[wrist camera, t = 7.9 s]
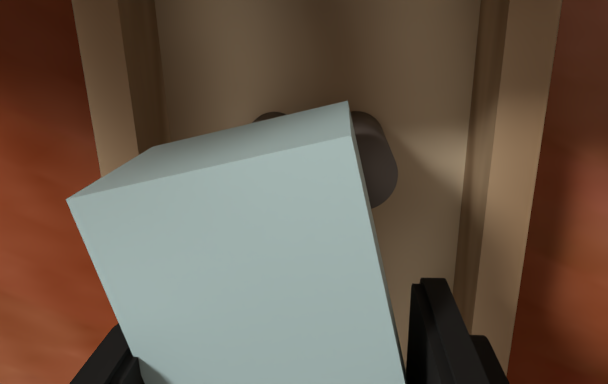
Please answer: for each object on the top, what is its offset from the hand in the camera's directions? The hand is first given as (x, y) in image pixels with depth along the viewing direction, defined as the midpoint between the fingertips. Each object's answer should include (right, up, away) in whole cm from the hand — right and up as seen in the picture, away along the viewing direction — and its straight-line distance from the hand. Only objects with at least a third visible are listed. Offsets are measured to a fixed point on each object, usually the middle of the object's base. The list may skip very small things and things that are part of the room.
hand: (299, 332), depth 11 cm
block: (0, 0, +1) cm, 1 cm away
